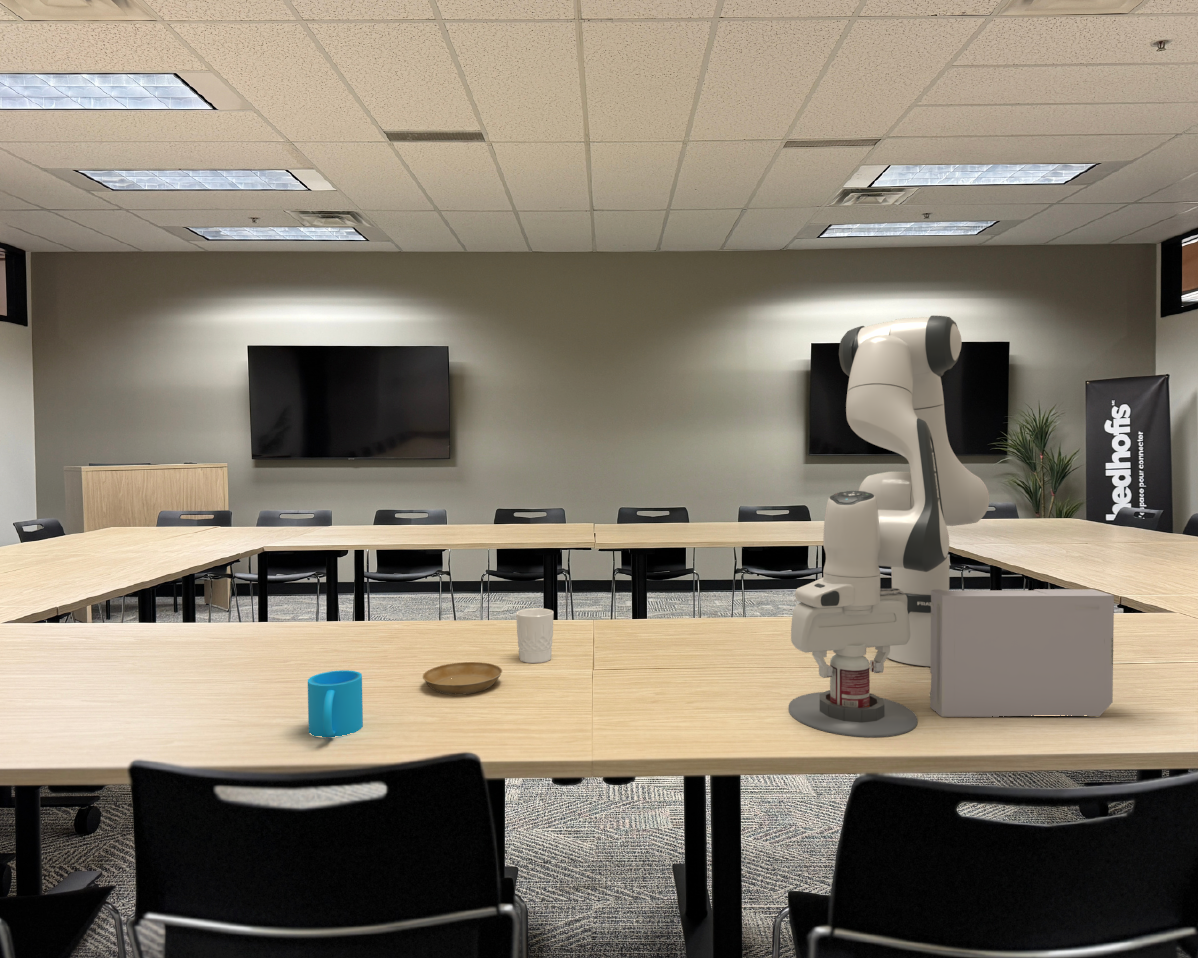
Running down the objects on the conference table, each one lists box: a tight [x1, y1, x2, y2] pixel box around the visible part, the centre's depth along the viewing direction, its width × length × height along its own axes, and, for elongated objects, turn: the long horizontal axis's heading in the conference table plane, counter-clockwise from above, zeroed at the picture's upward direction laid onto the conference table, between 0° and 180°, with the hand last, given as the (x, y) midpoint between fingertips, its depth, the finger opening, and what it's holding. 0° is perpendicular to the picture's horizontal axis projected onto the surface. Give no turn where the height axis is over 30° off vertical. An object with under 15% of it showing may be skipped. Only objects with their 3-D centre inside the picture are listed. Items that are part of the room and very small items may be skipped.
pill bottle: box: [829, 644, 871, 708], centre depth 121 cm, size 6×6×11 cm
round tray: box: [788, 689, 918, 738], centre depth 121 cm, size 20×20×2 cm
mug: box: [307, 669, 364, 737], centre depth 115 cm, size 12×8×8 cm
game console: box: [929, 588, 1115, 718], centre depth 121 cm, size 6×27×20 cm, turn 88°
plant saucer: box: [422, 661, 503, 695], centre depth 138 cm, size 15×15×3 cm
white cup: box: [515, 607, 554, 664], centre depth 156 cm, size 8×8×10 cm
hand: (851, 674), depth 121 cm, fingers open, 8 cm apart
